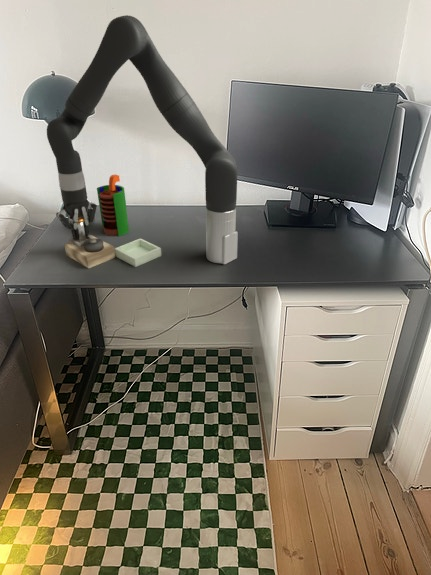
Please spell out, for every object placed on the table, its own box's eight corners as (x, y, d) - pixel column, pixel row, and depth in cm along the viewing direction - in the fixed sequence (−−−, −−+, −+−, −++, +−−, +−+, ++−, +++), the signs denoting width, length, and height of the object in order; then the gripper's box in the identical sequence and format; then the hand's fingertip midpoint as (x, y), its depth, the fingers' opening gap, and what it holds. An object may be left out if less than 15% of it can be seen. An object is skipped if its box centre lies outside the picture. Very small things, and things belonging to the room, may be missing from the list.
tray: (161, 255, 148) (160, 248, 147) (135, 267, 142) (134, 259, 140) (141, 245, 154) (140, 238, 153) (115, 256, 148) (114, 248, 146)
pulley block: (115, 257, 147) (112, 238, 143) (88, 268, 141) (85, 248, 137) (91, 245, 155) (88, 226, 151) (65, 254, 149) (61, 235, 145)
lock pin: (89, 241, 148) (85, 218, 144) (80, 244, 146) (76, 221, 142) (83, 238, 150) (79, 215, 146) (74, 241, 148) (70, 218, 144)
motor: (97, 232, 164) (89, 178, 153) (112, 223, 171) (106, 171, 160) (119, 237, 160) (112, 182, 149) (134, 228, 167) (129, 175, 156)
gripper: (58, 194, 131) (68, 247, 140) (99, 183, 140) (106, 234, 149) (45, 188, 136) (55, 240, 145) (85, 177, 144) (93, 227, 154)
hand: (81, 236), depth 147 cm, fingers closed on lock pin, 2 cm apart
